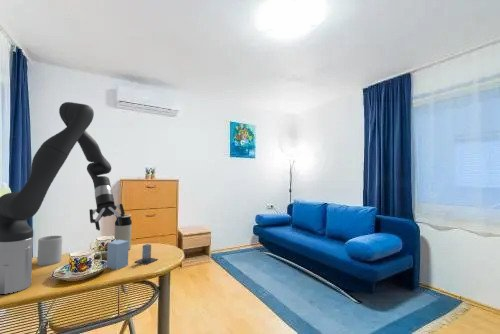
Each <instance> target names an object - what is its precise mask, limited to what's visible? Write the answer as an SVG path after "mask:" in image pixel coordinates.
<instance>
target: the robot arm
mask: <svg viewBox="0 0 500 334" xmlns="http://www.w3.org/2000/svg"><path fill="white" fill-rule="evenodd" d="M58 113H59V116H60V119H61V121H62V122H63V124H64V125H65V126H66V127H65V128H64V129H62V130H61V131H59V132H58V133H56V134H54V135H53V136H52V135H51V137H49V138H48V139H46V140H45V141H43V143H42V144H41V145H40V147H39V148H38V149H37V151H36V152H35V154H34V156H33V158H32V161H31V165H30V167H31V168H30V175H29V177H28V179H27V182H25V184H24V185H23V187H22V189H20V191H19V192H7V193H5V194H2V195H1V196H0V294H7V293H10V294H12V293H13V292H14V293H17V291H18V292H20V291H23V290H24V291H25V290H26V289H28V288H29V287H30V286H32V276H33V275H32V270H33V267H32V266H33V250H34V249H33V248H34V247H33V246H34V229H33V228H32V227H31V226H30V225H29V223H28V219H31V218H33V217H34V216H35V215H36V214H37V213H38V212H39V210H40V209H41V206H42V205H43V202H44V201H45V198H46V195H47V193H48V191H49V189H50V186H51V185H52V183H53V181H54V180H55V178H56V177H57V175H58V174H59V171H60V170H61V168H62V167H63V166H64V164H65V163H66V160H67V158H68V157H69V155H70V154H71V151H72V150H73V148H74V147H75V145H76V144H77V143H78V144H79V147H80V149H81V151H82V153H83V155H84V157H85V159H86V161H87V162H89V163H88V165H87V166H86V170H87V173H88V175H89V177H90V178H91V180H92V184H93V187H94V198H95V205H96V208H95V209H92V208H91V209H89V223H90V224H94V225H95V229H96V230H97V231H101V227H100V220H101V219H102V218H107V217H112V216H113V217H114V218H116V217H117V218H118V223H119V226H121V224H122V219H121V218H122V217H124V216H125V214H126V211H125V209H124V206H123V204H122V203H120V204H118V205H116V204H115V203H116V202H115V200H114V199H115V198H114V193H113V189H112V186H111V182H110V178H109V177H108V176H105V175H107V174H109V173H111V171H112V165H111V163H110V162H109V161H108V160H107V158H105V156H104V155H103V153H102V151H101V148H100V146H99V144H98V143H97V141H96V140H95V139H94V138H93V137H92V136H91V134H90V133H88V132H87V129H88V128H89V126H90V125H91V124H92V121H94V114H95V113H94V109H93V107H91V106H90V105H88V104H84V103H78V102H71V101H67V102H66V101H65V102H63V103H62V104H60V106H59V108H58ZM102 175H103V176H102ZM117 209H118V210H119V211H120V213H119V212H118V211H117ZM95 213H97V217H96V218H95V219H94V215H95ZM117 218H116V219H117ZM14 293H13V294H14ZM7 295H8V294H7Z"/></svg>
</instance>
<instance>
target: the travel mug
mask: <svg viewBox="0 0 500 334" xmlns="http://www.w3.org/2000/svg"><path fill="white" fill-rule="evenodd" d="M131 217H132V214H129V213H128V214H127V213H125V216H124V217H122V218H121V219H122V224H121V226H119V223H118V218H117V217H115V218H116V220H115V221H114V238H115V239H116V240H125V241H129V247H128V251H129V250H130V249H131V248H132V227H133V226H132V219H131Z"/></svg>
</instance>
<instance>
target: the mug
mask: <svg viewBox="0 0 500 334" xmlns="http://www.w3.org/2000/svg"><path fill="white" fill-rule="evenodd" d="M62 250H63V236H61V235H50V236H49V235H48V236H43V237H40V238H38V241H37V258H36V261H37V262H36V263H37V266H40V267H43V266H45V267H47V266H51V265H56V264H59V263H60V262H62V258H63V257H62V252H63V251H62Z"/></svg>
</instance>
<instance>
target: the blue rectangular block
mask: <svg viewBox="0 0 500 334" xmlns="http://www.w3.org/2000/svg"><path fill="white" fill-rule="evenodd" d="M128 247H129V241H125V240H116V241H114V240H113V241H109V242H107V253H106V268H107V269H112V270H120V269H122V268H124V267H127V266H129V250H128Z"/></svg>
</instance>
